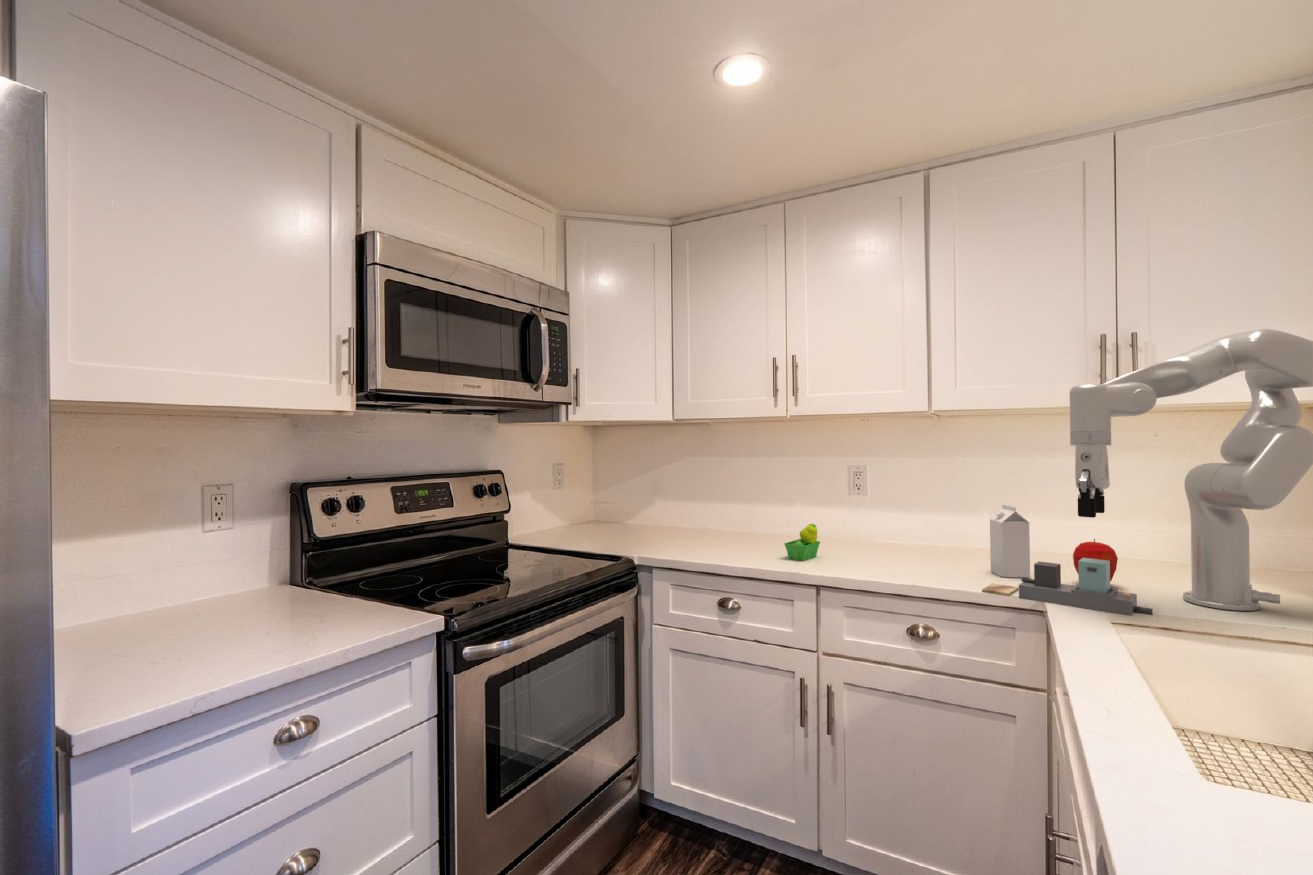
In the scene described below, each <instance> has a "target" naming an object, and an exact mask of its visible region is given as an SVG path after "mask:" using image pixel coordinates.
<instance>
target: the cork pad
mask: <svg viewBox="0 0 1313 875" xmlns="http://www.w3.org/2000/svg"><path fill="white" fill-rule="evenodd" d="M981 592H983V593H988V594H994V595H1001V596H1007V597H1010V596H1012V595H1013V594H1014V593H1016V592H1019V586H1012V585H1006V584H1000V583H991V584H988V585H986V586H985V587H983V588H982V589H981Z"/></svg>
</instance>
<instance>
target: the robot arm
mask: <svg viewBox="0 0 1313 875" xmlns="http://www.w3.org/2000/svg"><path fill="white" fill-rule="evenodd" d="M1240 372H1244V377H1245V378H1244V379H1245V381H1246V384H1247V387H1248V388H1249V392H1250V395H1251V396H1250V397H1251V401H1250V402H1251V403H1250V406H1249V408H1248V409H1247V411H1246V412H1245V414H1244V415H1243V416H1242V417H1241V418H1240V419H1239V421H1238V422H1237V423H1236V425H1235V426H1233V429H1231V431H1230V432H1229V433H1228V435H1227V436H1226V437H1225V439H1224V440H1223V441H1222V444H1221V446H1220V455H1221V457H1222V458H1223V460H1224V461H1226V462H1227V463H1223V462H1209V463H1202V464H1199V465H1196V466H1194V467H1193V468H1191V469H1190V470H1189V471H1188V472H1187V474H1186V476H1185V477H1184V478H1185V479H1184V483H1183V484H1184V490H1185V491H1184V492H1185V495H1186V499H1187V503H1188V506H1189V507H1188V509H1189V514H1190V541H1191V542H1190V546H1191V547H1190V551H1191V552H1190V556H1191V558H1190V559H1191V560H1190V561H1191V590H1190V591H1186V592H1183V593H1182V598H1183V599H1184V601H1186V602H1189V603H1191V604H1194V605H1199V606H1203V607H1207V608H1213V609H1220V610H1227V611H1240V612H1243V611H1244V612H1248V611H1249V612H1253V611H1258V610H1260V609H1261V602H1265V603H1269V604H1279V605H1280V604H1281V595H1280V594H1277V593H1276V594H1275V593H1272V592H1266V591H1259V590H1256V589H1253V584H1251V568H1250V567H1251V566H1250V561H1251V560H1250V556H1251V555H1250V527H1249V522H1248V520H1247V517H1246V515H1245V513H1244V511H1243V509H1244V510H1253V511H1254V510H1255V511H1265V510H1269V509H1272V508H1275V507H1277V506H1278V505H1280V504H1281V503H1282V502H1283V501H1284V500H1285V499H1286V498H1287V497H1288V495H1289V494H1291V492H1292V490H1294V488H1295V487H1296V486H1297V485H1298V484H1299V482H1301V480H1302V479H1303V478H1304V476H1305V475H1306V474H1307V472H1308V471H1309V470H1310V469H1311V467H1312V466H1313V432H1311V431H1310V430H1309V429H1307V428H1306V427H1303V426H1299V425H1298V424H1299V423H1300V422H1301V420H1302V417H1303V409H1302V407H1301V405H1300V402H1299V400H1298V398H1297V396H1296V394H1295V391H1294V390H1293V389H1299V388H1300V389H1302V388H1313V340H1311V339H1308V338H1305V337H1302V336H1299V335H1295V334H1292V333H1288V332H1285V331H1282V330H1276V329H1272V328H1271V329H1270V328H1263V329H1262V328H1261V329H1254V330H1249V331H1244V332H1238V333H1233V334H1228V335H1224V336H1221V337H1219V338H1215V339H1214V340H1211V341H1209V342H1206V343H1205V344H1202V345H1199V346H1198V347H1195V348H1193V349H1191V350H1188V351H1186V352H1183V353H1181V354H1179V355H1176V356H1174V357H1171V358H1167V359H1165V360H1162V361H1160V362H1157V363H1154V364H1152V365H1149V366H1146V367H1144V368H1141V369H1137V370H1135V371H1132V372H1129V373H1125V374H1123V375H1121V376H1118V377H1116V378H1113V379H1112V380H1109V381H1107V382H1104V383H1102V384H1100V383H1092V384H1091V383H1090V384H1078V385H1074V386H1072V387H1071V389H1070V390H1069V438H1070V439H1069V443H1070V444H1069V445H1070V446H1071V447H1073V446H1075V453H1074V455H1075V457H1074V458H1075V460H1074V461H1075V462H1074V464H1075V465H1074V467H1075V469H1074V470H1075V471H1074V474H1075V476H1074V477H1075V487H1076V488H1077V489H1078V490H1077V491H1078V492H1077V516H1078V517H1079V518H1080V517H1081V518H1092V519H1093V518H1096V517H1097V514H1103V513H1104V514H1105V512H1106V510H1105V492H1104V490H1107V489H1108V488H1109V487H1110V484H1111V482H1110V472H1109V471H1110V468H1109V466H1110V465H1109V456H1108V455H1109V454H1108V448H1107V446H1112V418H1114V417H1134V416H1135V417H1136V416H1140V415H1141V416H1142V415H1143V414H1146V413H1148V412H1150V411H1151V410H1152V409H1153V408H1154V407H1155V406H1156V403H1157V401H1158V400H1157V399H1162V398H1167V397H1172V396H1178V395H1180V396H1181V395H1184V394H1187V393H1191V392H1194V391H1197V390H1200V389H1201V388H1204V387H1206V386H1208V385H1210V384H1213V383H1216V382H1218V381H1220V380H1222V379H1225V378H1227V377H1229V376H1232V375H1234V374H1236V373H1240Z"/></svg>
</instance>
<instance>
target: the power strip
mask: <svg viewBox="0 0 1313 875" xmlns="http://www.w3.org/2000/svg"><path fill="white" fill-rule="evenodd" d="M1033 565H1034V566H1033V569H1034V570H1033V576H1034V579H1033V578H1030V577H1020V580H1021V583H1020V584H1019V585H1018V587H1019V590H1018V598H1020V599H1025V600H1032V601H1038V602H1045V603H1051V604H1055V605H1056V604H1057V605H1061V606H1062V605H1063V606H1070V607H1076V608H1082V609H1090V610H1095V611H1101V612H1108V613H1115V614H1121V615H1127V616H1133V615H1134V613H1142V614H1147V615H1153V613H1154V611H1153V608H1151V607H1146V606H1145V607H1144V606H1140V605H1139V606H1138V605H1137V603H1138V602H1137V601H1138V598H1137V596H1138V594H1137V593H1134V592H1133V593H1131V592H1124V591H1119V590H1118V588H1114V587H1113V588H1112V587H1110V593H1109V594H1102V593H1095V592H1088V591H1081V590H1079V583H1077V584H1076V585H1075V584H1067V583H1061V582H1062V581H1061V579H1062V578H1061V576H1062V574H1061V573H1062V572H1061V570H1062V569H1061V568H1062V566H1061V563H1054V562H1045V561H1038V562H1036V563H1034V564H1033Z"/></svg>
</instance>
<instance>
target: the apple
mask: <svg viewBox="0 0 1313 875" xmlns="http://www.w3.org/2000/svg"><path fill="white" fill-rule="evenodd" d="M1082 558H1089V559H1098V560H1107V561H1110V582H1112V580H1113V578H1114V575H1115V573H1116V571H1117V565H1118V559H1119V557H1118V555H1117V553H1116V551H1115V549H1113V547H1111V546H1110V545H1108V544H1106V543H1102V542H1099V541H1097V542H1096V538H1093V541H1085V542H1080V543H1079V544H1078V545H1077V546H1076V547H1075V549H1074V551H1073V554H1072V560H1073V566H1074V569H1075V571H1076V573H1077V575H1078V576H1079V574H1078V561H1079V560H1081V559H1082Z"/></svg>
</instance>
